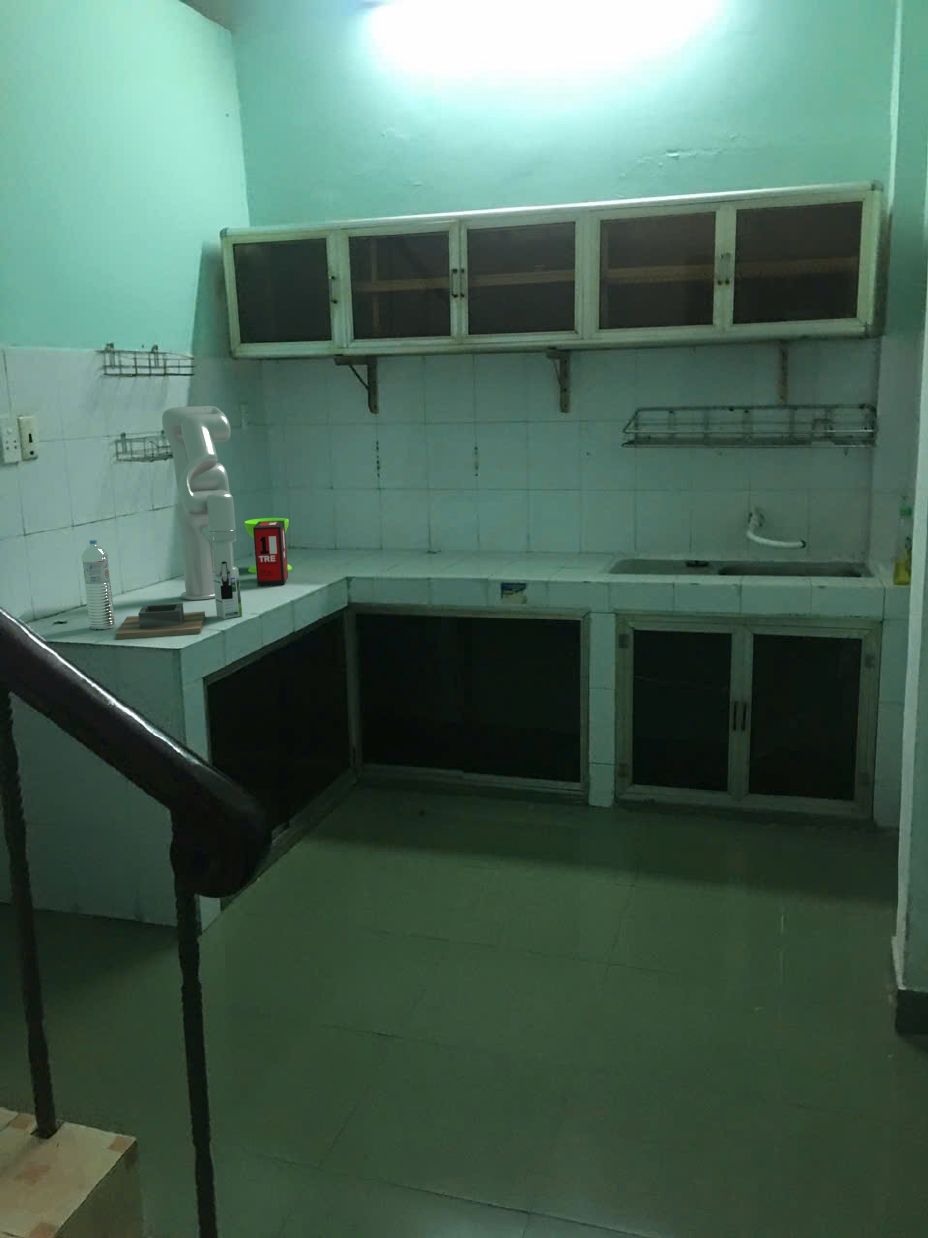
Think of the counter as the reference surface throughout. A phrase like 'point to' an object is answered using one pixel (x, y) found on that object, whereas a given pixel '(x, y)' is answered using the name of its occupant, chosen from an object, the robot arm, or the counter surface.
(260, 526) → the cleaning product box
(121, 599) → the counter surface
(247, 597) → the counter surface
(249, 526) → the wineglass
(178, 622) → the socket board
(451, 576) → the counter surface
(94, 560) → the water bottle
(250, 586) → the counter surface
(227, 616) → the syrup box
